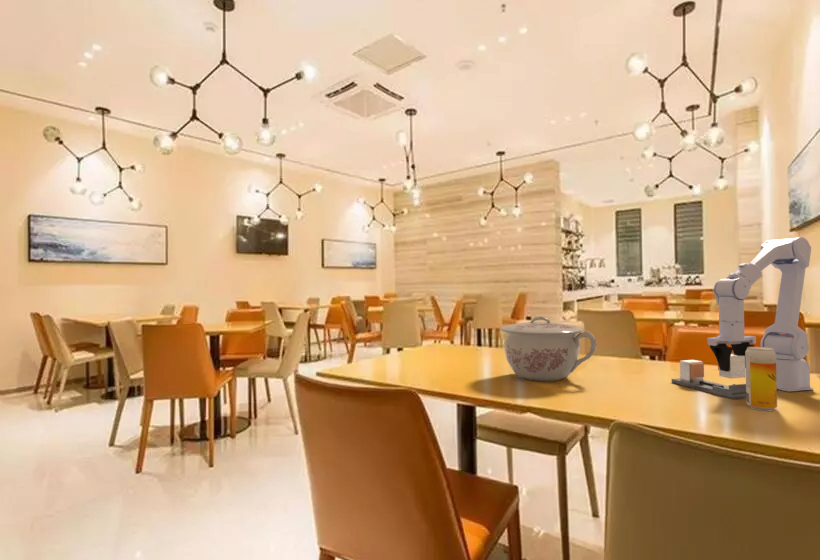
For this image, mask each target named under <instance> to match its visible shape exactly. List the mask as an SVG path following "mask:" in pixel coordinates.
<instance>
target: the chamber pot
mask: <svg viewBox="0 0 820 560" xmlns="http://www.w3.org/2000/svg"><path fill="white" fill-rule="evenodd" d="M499 330H500V331H501V332H504V333H506V338H505V340H504V344H503V346H504V354H505V357H506V358H505V359H506V361H507V362H508V365H509V366H510V368H511V369H512V371H513V373H514V374H515V375H516V376H518V377H520V378H523V379H525V380H529V381H535V382H556V381H560V380H562V379H566V378H568V377H569V376H570V375H571V373H573V372H574V371H575V370H576V369H577V368H578V367H579V366H580V365H581V364H582V363H584V362H585V361H587V360H589V359H590V358H591V357H592V356H593V355H594V353H595V352H596V351H597V346H598V345H597V339H596V337H595V336H594V334H593V333H592V332H590V331H589V330H584V328H582V327H579V326H576V325H573V324H568V323H561V322H552V321H551V320H550V319H548V317H544V316H535V317H533V318H532V319H531V320H530V321H527V322H519V323H512V324H507V325H504V326H501V327H500V328H499ZM582 338H588V339H589V341H590V349H589V351H588V353H586V355H585V356H583V357H581V358H579V354H580V346H581V339H582Z"/></svg>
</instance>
